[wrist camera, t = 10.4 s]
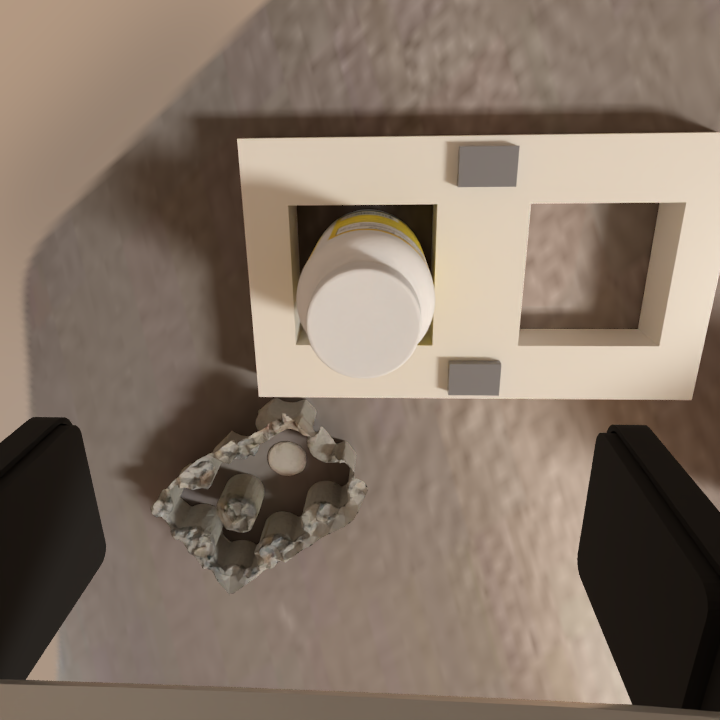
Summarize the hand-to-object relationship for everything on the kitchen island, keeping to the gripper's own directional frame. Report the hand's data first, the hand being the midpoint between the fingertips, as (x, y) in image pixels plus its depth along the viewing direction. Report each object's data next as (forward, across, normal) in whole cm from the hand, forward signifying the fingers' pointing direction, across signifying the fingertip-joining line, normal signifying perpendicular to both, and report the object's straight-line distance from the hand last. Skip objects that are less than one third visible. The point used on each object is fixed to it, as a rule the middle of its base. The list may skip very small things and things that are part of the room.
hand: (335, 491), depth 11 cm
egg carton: (+20, +6, +13) cm, 24 cm away
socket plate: (+20, -5, 0) cm, 20 cm away
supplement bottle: (+20, 0, 0) cm, 20 cm away
